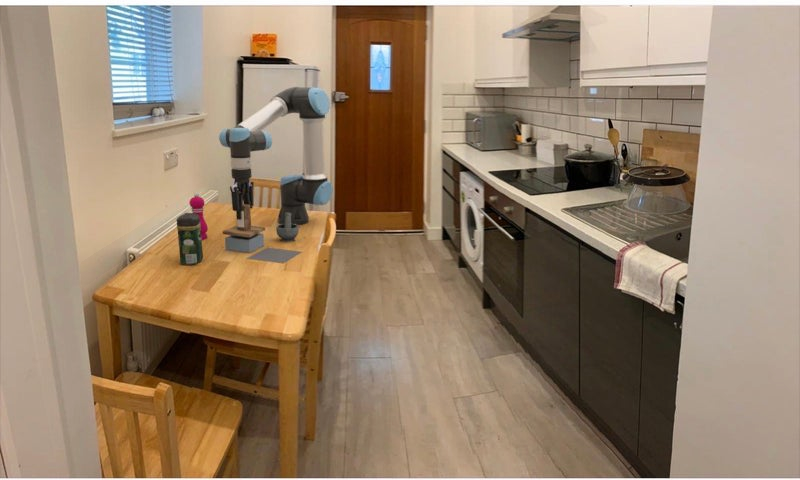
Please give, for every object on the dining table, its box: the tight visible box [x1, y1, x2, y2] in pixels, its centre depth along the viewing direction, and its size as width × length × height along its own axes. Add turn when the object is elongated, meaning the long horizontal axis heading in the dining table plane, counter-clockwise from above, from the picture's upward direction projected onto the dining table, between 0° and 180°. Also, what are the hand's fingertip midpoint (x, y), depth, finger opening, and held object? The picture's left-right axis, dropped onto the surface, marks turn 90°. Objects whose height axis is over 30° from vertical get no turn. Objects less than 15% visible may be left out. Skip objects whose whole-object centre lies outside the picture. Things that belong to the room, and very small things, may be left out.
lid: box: [222, 203, 266, 237], centre depth 220 cm, size 12×12×11 cm
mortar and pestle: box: [275, 213, 300, 243], centre depth 235 cm, size 11×9×12 cm
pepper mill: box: [189, 192, 209, 241], centre depth 234 cm, size 7×7×20 cm
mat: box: [246, 247, 303, 264], centre depth 215 cm, size 16×16×1 cm
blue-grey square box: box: [224, 232, 265, 254], centre depth 222 cm, size 11×11×6 cm
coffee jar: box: [176, 212, 204, 266], centre depth 204 cm, size 10×8×19 cm
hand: (244, 225), depth 220 cm, fingers closed on lid, 4 cm apart
